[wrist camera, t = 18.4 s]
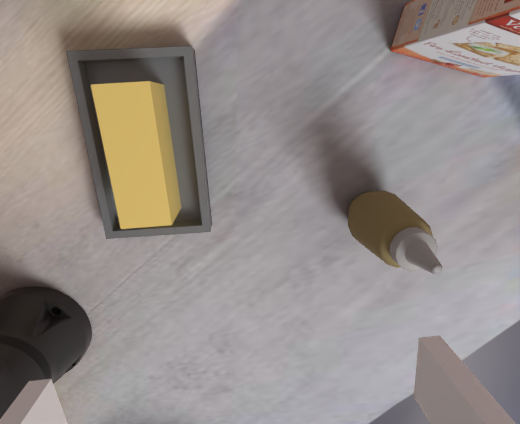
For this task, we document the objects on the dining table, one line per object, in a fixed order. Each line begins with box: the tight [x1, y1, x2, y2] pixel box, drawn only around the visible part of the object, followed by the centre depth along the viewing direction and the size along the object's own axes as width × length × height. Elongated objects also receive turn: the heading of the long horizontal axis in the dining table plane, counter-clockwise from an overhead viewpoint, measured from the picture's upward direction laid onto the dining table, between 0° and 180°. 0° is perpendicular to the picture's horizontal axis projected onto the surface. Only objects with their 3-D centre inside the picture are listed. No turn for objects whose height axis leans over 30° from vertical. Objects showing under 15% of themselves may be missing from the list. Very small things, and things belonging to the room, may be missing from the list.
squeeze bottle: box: [348, 191, 442, 274], centre depth 40 cm, size 8×8×18 cm
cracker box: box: [390, 0, 520, 77], centre depth 32 cm, size 14×6×21 cm, turn 77°
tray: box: [67, 46, 212, 239], centre depth 42 cm, size 14×23×3 cm, turn 3°
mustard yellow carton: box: [91, 81, 181, 229], centre depth 40 cm, size 6×16×7 cm, turn 4°
